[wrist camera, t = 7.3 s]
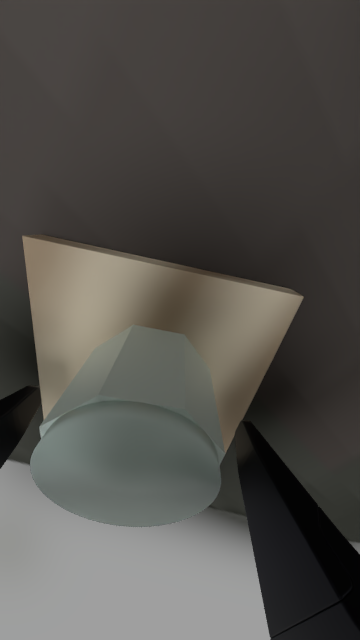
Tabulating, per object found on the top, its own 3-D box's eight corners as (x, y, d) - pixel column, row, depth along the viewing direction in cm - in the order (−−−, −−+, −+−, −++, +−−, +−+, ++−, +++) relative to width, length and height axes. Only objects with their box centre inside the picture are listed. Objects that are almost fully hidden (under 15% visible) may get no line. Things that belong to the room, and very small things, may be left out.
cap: (219, 340, 10) (249, 438, 5) (191, 422, 12) (195, 534, 8) (96, 317, 9) (16, 401, 5) (93, 406, 12) (38, 516, 8)
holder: (290, 288, 10) (334, 315, 7) (220, 441, 15) (229, 492, 12) (41, 234, 9) (-25, 239, 6) (55, 415, 14) (23, 465, 11)
